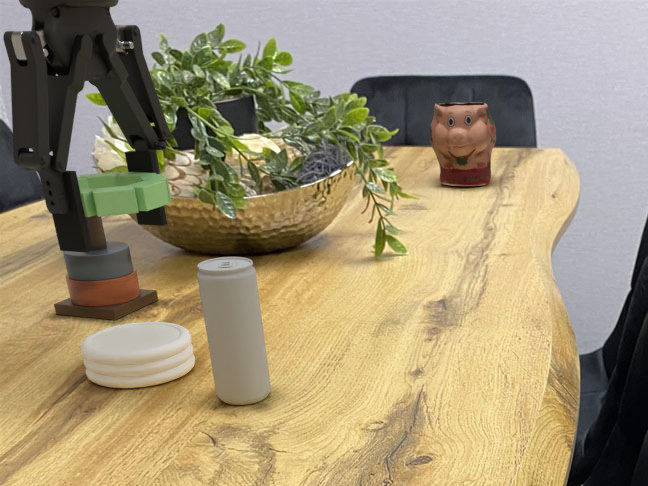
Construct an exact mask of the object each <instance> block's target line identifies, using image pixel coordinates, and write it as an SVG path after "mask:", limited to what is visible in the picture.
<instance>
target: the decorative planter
mask: <svg viewBox="0 0 648 486" xmlns="http://www.w3.org/2000/svg"><path fill="white" fill-rule="evenodd" d="M496 142H497V128H496V124H495V122H494V119H493V117H492V114H491V112H490V109H489V105H488V104H487V103H486V102H482V101H481V102H480V101H479V102H477V101H476V102H475V101H473V102H471V101H468V102H443V103H439V102H435V104H434V106H433V118H432V120H431V122H430V126H429V143H430V146H431V148H432V150H433V152H434V153H435V156H436V159H437V162H438V166H439V171H440V172H439V183H440V184H442V185H445V186H453V187H478V186H486V185H488V184H490V182H491V179H492V169H491V168H492V152H493V149H494V148H495V145H496Z"/></svg>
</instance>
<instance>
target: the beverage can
mask: <svg viewBox="0 0 648 486" xmlns="http://www.w3.org/2000/svg"><path fill="white" fill-rule="evenodd" d="M253 265H254V262H253V260H252V259H250V258H247V257H242V256H222V257H215V258H209V259H206V260H202V261H200V262H198V264H197V270H198V271H197V273H196V277H197V283H198V289H199V296H200V301H201V308H202V313H203V319H204V326H205V333H206V339H207V345H208V351H209V357H210V364H211V369H212V370H211V371H212V376H213V382H214V388H215V393H216V394H215V395H216V397H218V399H220V400H221V401H222V402H223V403H225V404H227V405H232V406H233V405H234V406H245V405H252V404H255V403H259V402H262V401H263V400H265V399H266V398H267V397H268V396H269V394H270V392H271V390H272V385H271V378H270V369H269V362H268V354H267V348H266V340H265V332H264V326H263V325H264V324H263V317H262V316H263V315H262V310H261V309H262V308H261V300H260V294H259V285H258V279H257V278H258V277H257V271H256V268H255V267H254V266H253Z"/></svg>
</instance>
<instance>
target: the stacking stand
mask: <svg viewBox="0 0 648 486" xmlns="http://www.w3.org/2000/svg"><path fill="white" fill-rule="evenodd" d="M86 222H87V227H88V231H89V236H90V241H91V246H92V250H93V251H90V252H87V253H85V252H71V251H62V255H63V260H64V264H65V269H66V273H67V274H65V281H66V286H67V290H68V294H69V297H68V298H65V299H63V300H61V301H57V302H55V303H53V307H54V311H55V315H61V316H70V317H82V318H91V319H102V320H111V321H116V320H118V319H120V318H123V317H125V316H127V315H129V314H132V313H134V312H136V311H138V310H139V309H142V308H144V307H146V306H148V305H151V304H153V303H155V302H157V301H159V296H158V290H157V289H154V290H153V289H144V288H141V286H140V283H139V282H140V281H139V277H138V272H137V269H136V268H135V267H134V265H133V260H132V255H131V254H132V253H131V250H130V245H129V244H128V243H126V242H123V241H116V240H107V239H106V233H105V229H104V228H105V227H104V224H103V219H102V217H98V216H97V215H94V216H91V217H86Z"/></svg>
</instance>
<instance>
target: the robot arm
mask: <svg viewBox="0 0 648 486" xmlns="http://www.w3.org/2000/svg"><path fill="white" fill-rule="evenodd" d="M18 2H19V4H20V5H21V6H22V7H23V8H25V9H27V10H28V9H29V11H30V13H31V19H32V20H31V28H30V29H31V30H7V31H5V32H4V33H3V36H2V37H3V39H2V40H3V43H4V46H5V50H6V53H7V59H8V62H9V69H10V71H9V72H10V96H11V100H10V101H11V125H12V127H11V128H12V153H13V155H12V156H13V161H14V164H15V165H16V166H17V167H20V168H25V169H26V170H27V171H28V172H37V174H38V177H39V180H40V184H41V189H42V193H43V198H44V202H45V206H46V209H47V211H48V212H49V214H51V213H52V214H51V215H52V221H53V225H54V229H55V234H56V238H57V243H58V247H59V251H61V252H63V251H71V252H85V253H87V252H90V251H93V250H92V246H91V241H90V236H89V231H88V227H87V222H86V217H85V214H84V209H83V204H82V199H81V195H80V189H79V184H78V179H77V177H78V174H77V171H76V170H67V168H68V162H69V156H70V150H71V149H70V148H71V143H72V142H71V141H72V136H73V135H72V134H73V129H74V121H75V115H76V107H77V100H78V95H79V93H80V92H82V91H83V90H84V88H85V83H86V82H88V83H90V85H92V86H94V87H95V88H96V89H97V90H98V92H99V94H100V96H101V98H102V99H103V101H104V103H105V105H106V107H107V108H108V110H109V112H110V113H111V115H112V117H113V119H114V120H115V122H116V124H117V125H118V127H119V129H120V131H121V132H122V134H123V136H124V138H125V140H126V142H127V143H128V145H129V146H130V148H131V149H132V150H128V151H127V150H126V151H124V156H125V161H126V162H125V163H126V168H127V172H146V173H156V174H161V170H160V164H159V158H158V152H157V151H165V150H166V149H167V140H169V139H170V136H171V132H170V128H169V125H168V122H167V120H166V117H165V113H164V111H163V108H162V105H161V104H162V103H161V101H160V99H159V96H158V92H157V90H156V87H155V84H154V81H153V77H152V75H151V73H150V69H149V66H148V63H147V61H146V57H145V54H144V48H143V42H142V33H141V30H140V27H139V26H138V25H136V24H115V22H114V20H113V17H112V14H111V8H113V7H116V6H117V5H118V4H119V0H18ZM152 124H153V125H152ZM51 152H52V154H51ZM135 215H136V220H137V221H136V222H137V225H141V226H142V225H143V226H158V227H165V226H166V225H168V221H167V215H166V209H165V205H164V206H161V207H158V208H155V209H152V210H149V211H139V212H138V213H135Z"/></svg>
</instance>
